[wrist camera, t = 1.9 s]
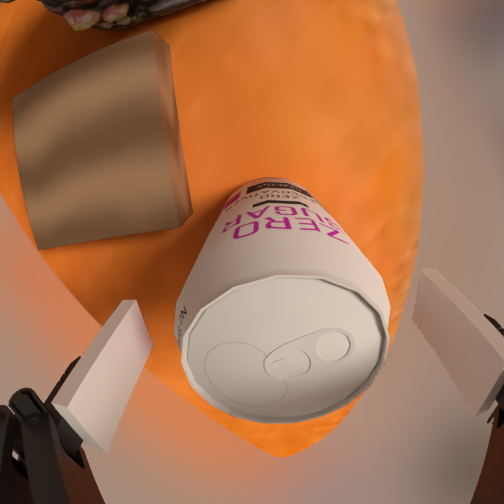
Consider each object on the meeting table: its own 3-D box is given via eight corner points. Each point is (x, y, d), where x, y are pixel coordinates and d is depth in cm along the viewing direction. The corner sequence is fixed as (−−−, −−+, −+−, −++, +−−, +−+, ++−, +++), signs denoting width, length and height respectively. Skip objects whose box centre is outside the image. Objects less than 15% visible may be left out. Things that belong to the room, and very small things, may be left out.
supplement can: (250, 288, 25) (242, 445, 11) (201, 206, 22) (115, 319, 8) (336, 248, 23) (415, 384, 9) (294, 157, 20) (366, 197, 6)
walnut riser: (39, 99, 18) (11, 98, 14) (169, 45, 17) (152, 30, 13) (62, 234, 23) (38, 250, 19) (193, 212, 22) (179, 227, 18)
